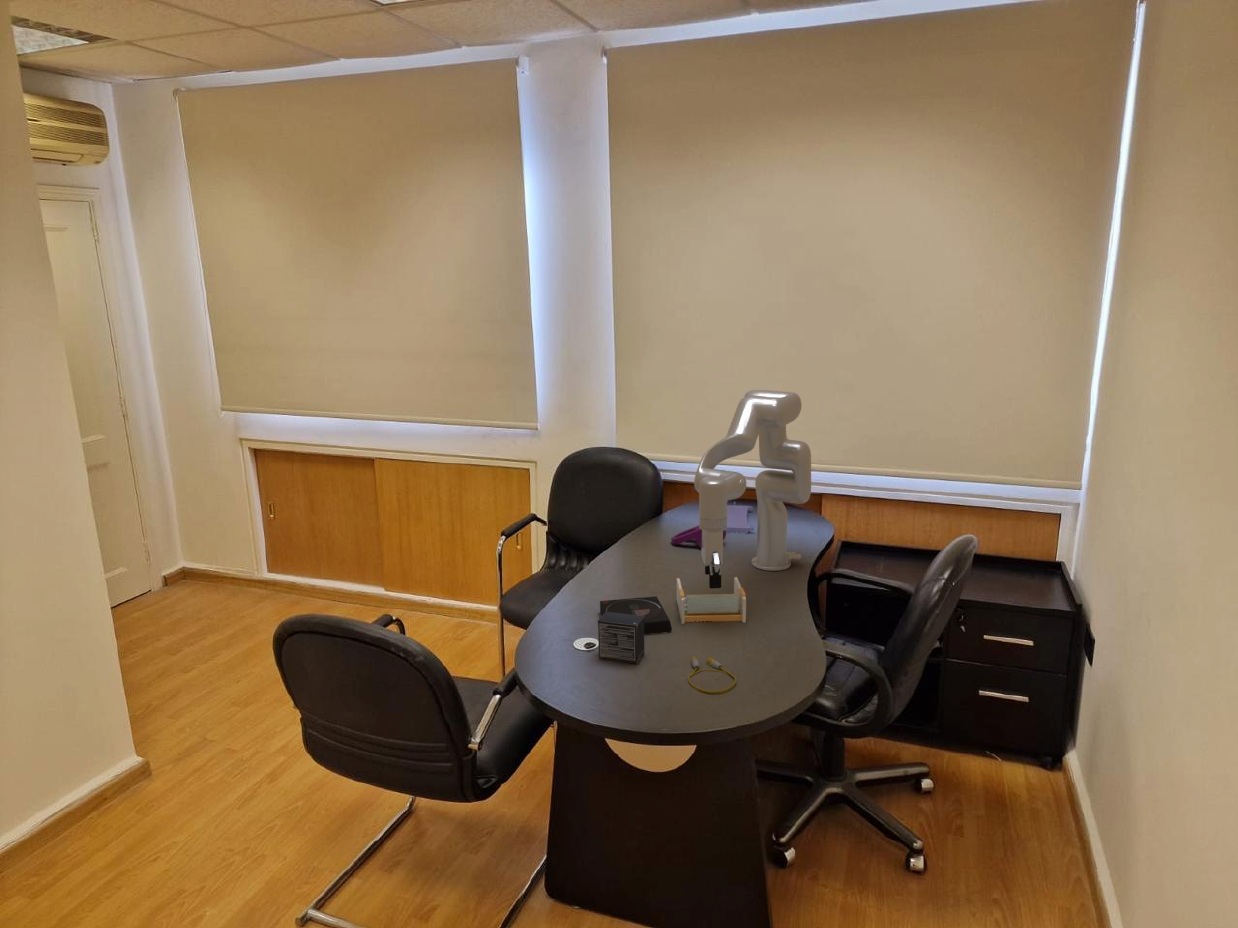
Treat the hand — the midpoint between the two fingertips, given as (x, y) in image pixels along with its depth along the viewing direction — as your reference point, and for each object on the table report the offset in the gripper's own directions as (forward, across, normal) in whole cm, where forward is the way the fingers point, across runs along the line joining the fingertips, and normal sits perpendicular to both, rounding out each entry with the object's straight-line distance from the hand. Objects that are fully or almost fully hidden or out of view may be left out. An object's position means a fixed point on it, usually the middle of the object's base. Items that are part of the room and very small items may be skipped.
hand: (712, 580), depth 223 cm
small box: (+10, +23, -26) cm, 36 cm away
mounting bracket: (+12, -60, +2) cm, 61 cm away
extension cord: (+11, +34, -5) cm, 36 cm away
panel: (+11, +1, 0) cm, 11 cm away
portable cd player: (+11, +3, -22) cm, 25 cm away
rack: (+11, -3, 0) cm, 11 cm away
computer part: (+13, -87, +19) cm, 90 cm away
